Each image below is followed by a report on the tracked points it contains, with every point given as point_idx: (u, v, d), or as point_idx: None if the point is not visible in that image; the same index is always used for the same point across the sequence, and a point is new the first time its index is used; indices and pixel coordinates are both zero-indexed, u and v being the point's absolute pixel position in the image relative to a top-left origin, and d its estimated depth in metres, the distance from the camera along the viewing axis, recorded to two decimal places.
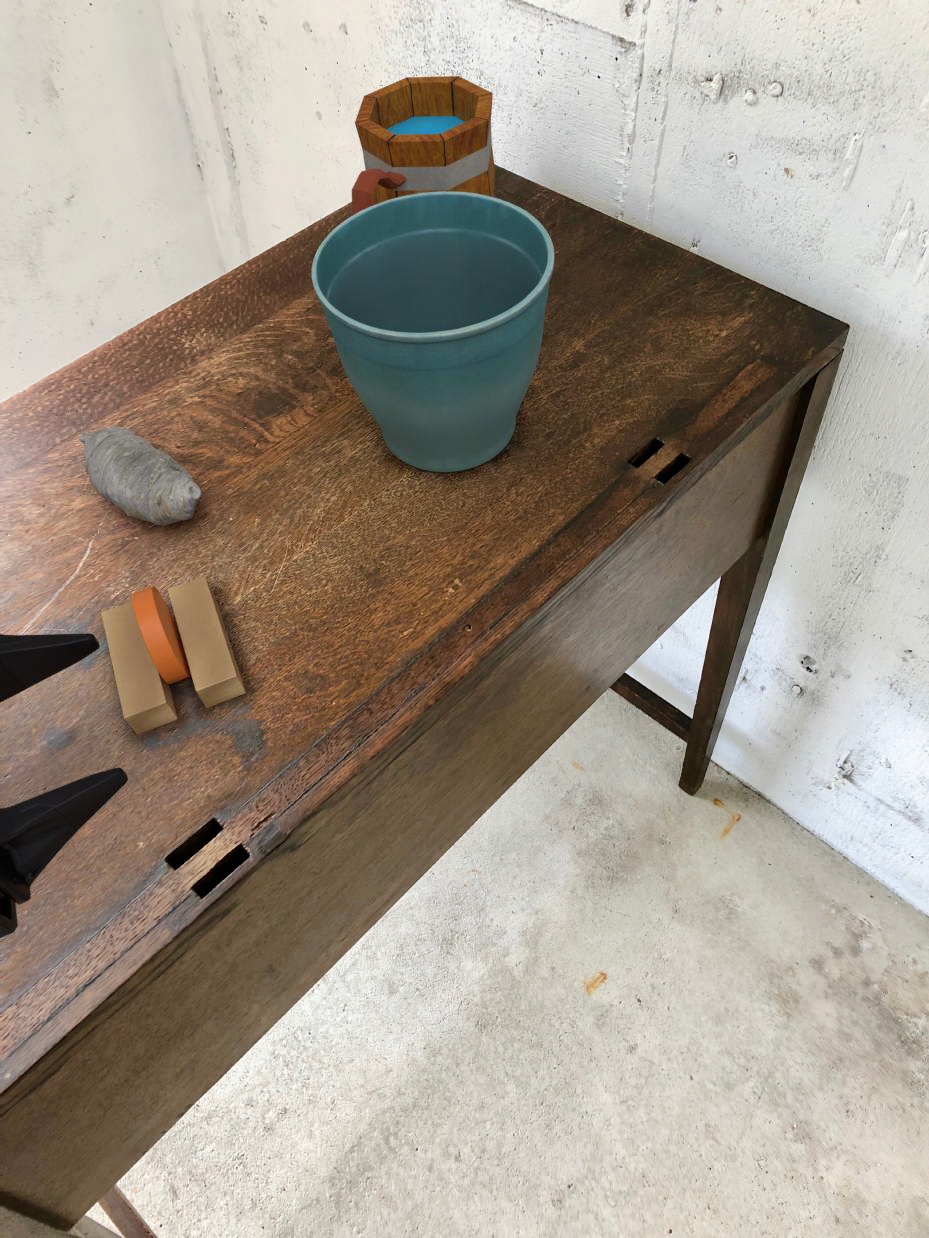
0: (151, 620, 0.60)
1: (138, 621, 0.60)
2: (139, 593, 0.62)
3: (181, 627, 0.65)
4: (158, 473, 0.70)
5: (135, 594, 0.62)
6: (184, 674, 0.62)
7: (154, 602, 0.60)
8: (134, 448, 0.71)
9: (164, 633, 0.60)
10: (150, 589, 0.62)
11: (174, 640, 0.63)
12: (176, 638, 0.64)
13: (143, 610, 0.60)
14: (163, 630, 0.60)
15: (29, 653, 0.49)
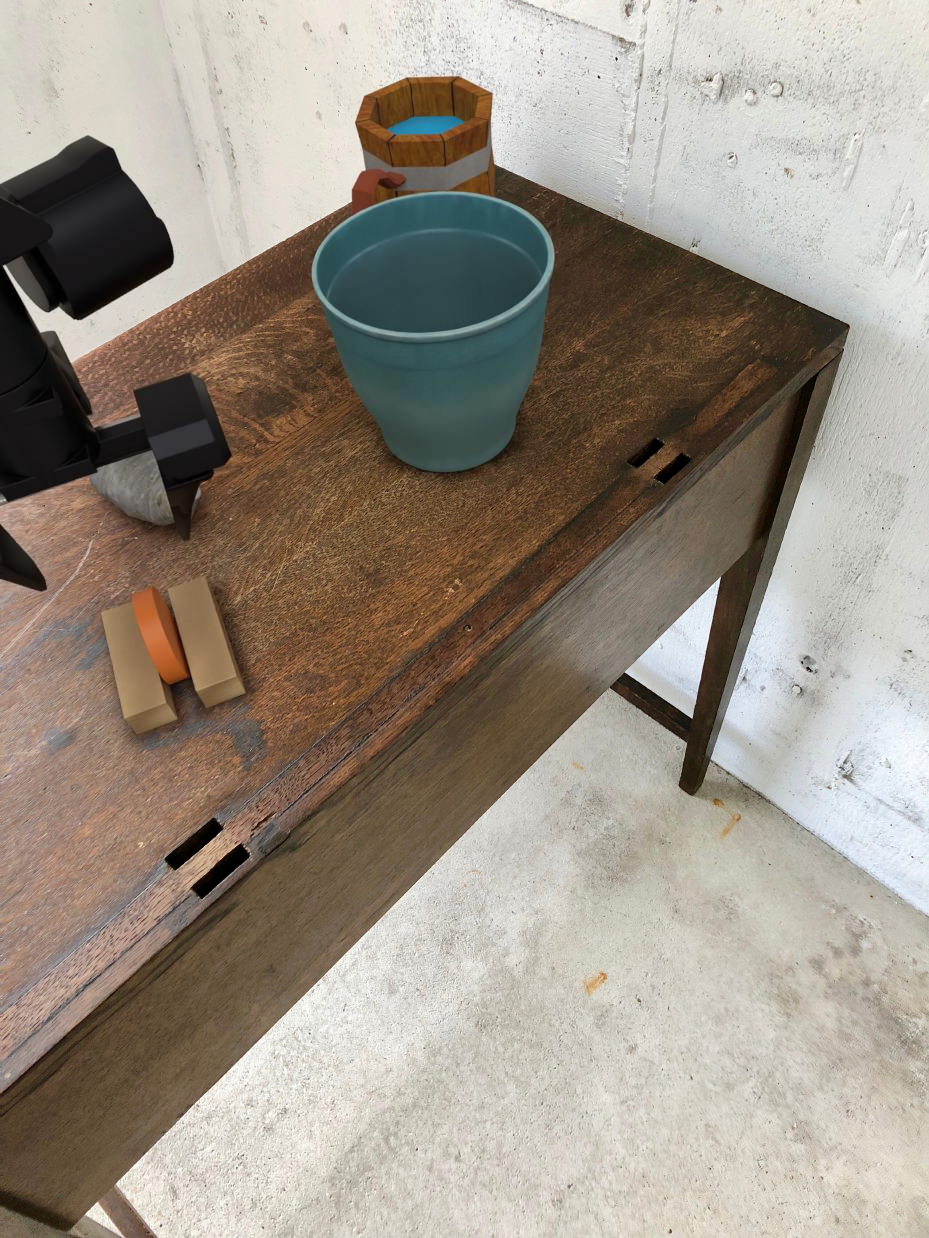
0: (151, 621, 0.60)
1: (138, 622, 0.60)
2: (139, 593, 0.62)
3: (181, 627, 0.65)
4: (158, 473, 0.70)
5: (135, 594, 0.62)
6: (184, 675, 0.62)
7: (154, 603, 0.60)
8: None
9: (164, 634, 0.60)
10: (150, 589, 0.62)
11: (174, 640, 0.63)
12: (176, 638, 0.64)
13: (143, 611, 0.60)
14: (163, 631, 0.60)
15: (14, 542, 0.53)
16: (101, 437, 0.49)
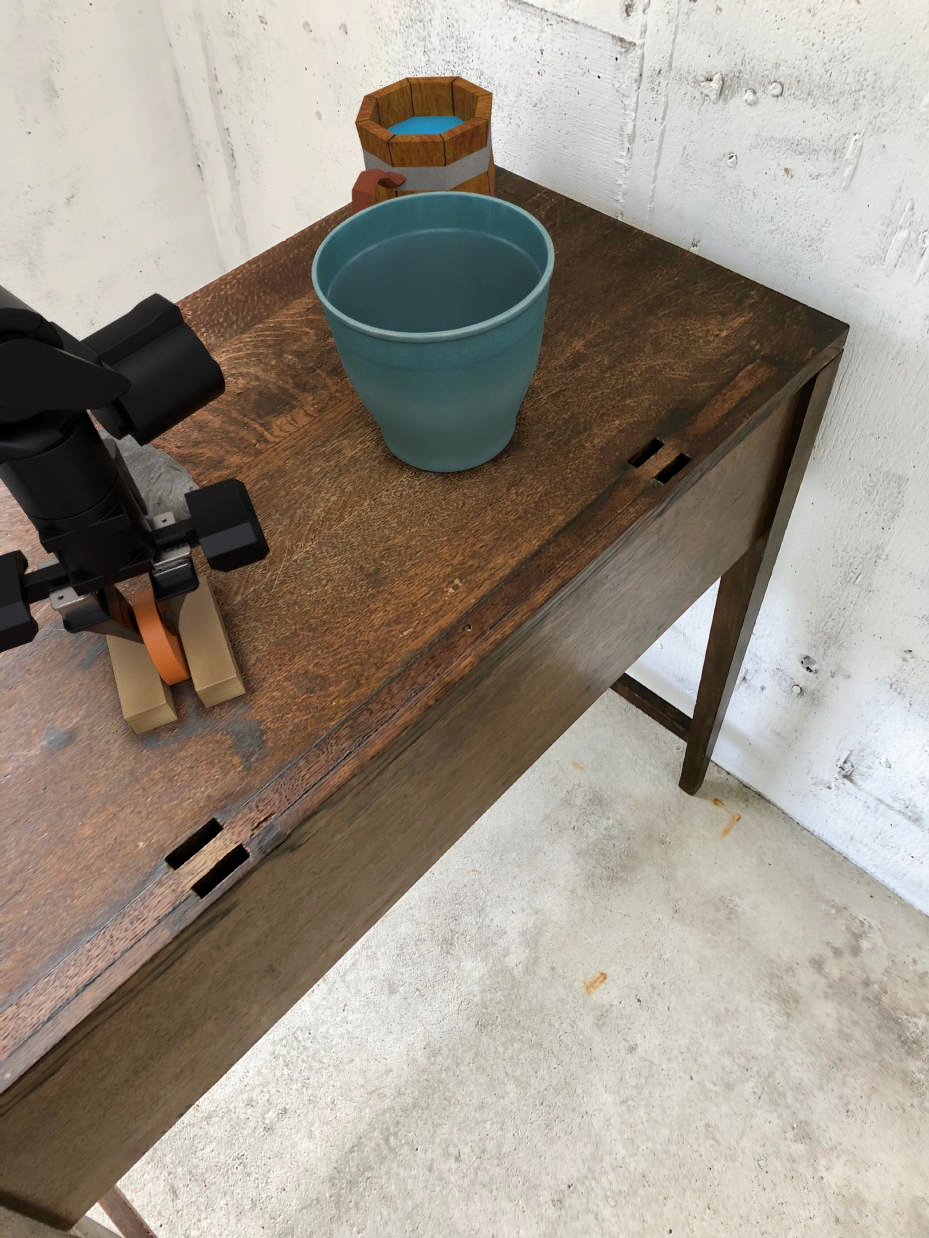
0: (152, 623, 0.60)
1: (139, 624, 0.60)
2: (139, 595, 0.61)
3: (181, 627, 0.65)
4: (158, 473, 0.70)
5: (135, 596, 0.61)
6: (185, 676, 0.62)
7: (155, 605, 0.60)
8: (134, 448, 0.71)
9: (165, 636, 0.60)
10: (150, 591, 0.62)
11: (174, 641, 0.63)
12: (176, 639, 0.64)
13: (144, 613, 0.60)
14: (164, 633, 0.60)
15: (128, 603, 0.60)
16: (157, 536, 0.56)
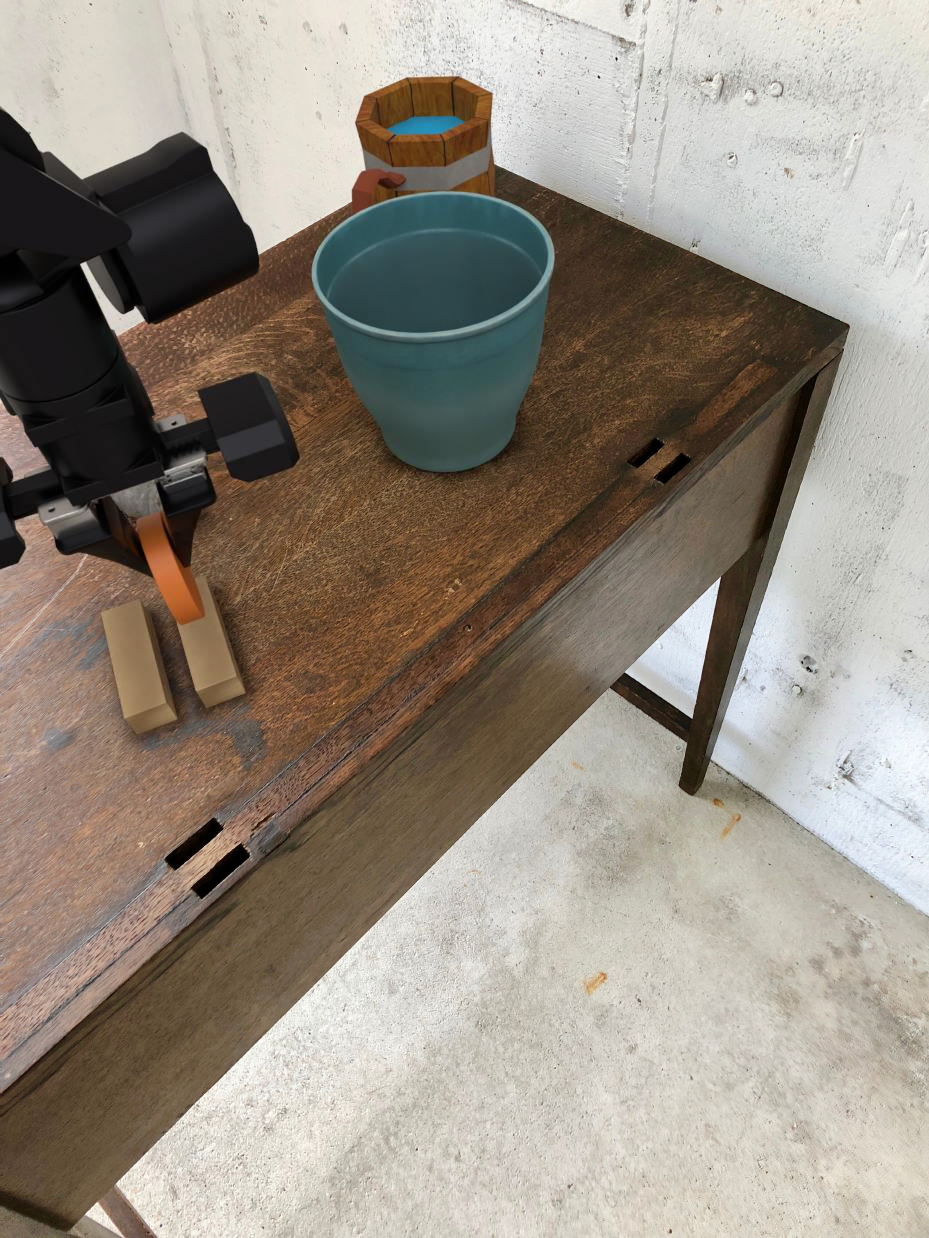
0: (160, 548, 0.51)
1: (145, 549, 0.51)
2: (145, 518, 0.52)
3: (181, 627, 0.65)
4: None
5: (140, 519, 0.52)
6: (199, 613, 0.53)
7: (163, 528, 0.51)
8: None
9: (176, 564, 0.51)
10: (157, 513, 0.53)
11: (186, 574, 0.54)
12: (188, 572, 0.55)
13: (150, 537, 0.51)
14: (174, 560, 0.51)
15: (131, 527, 0.51)
16: (166, 439, 0.47)
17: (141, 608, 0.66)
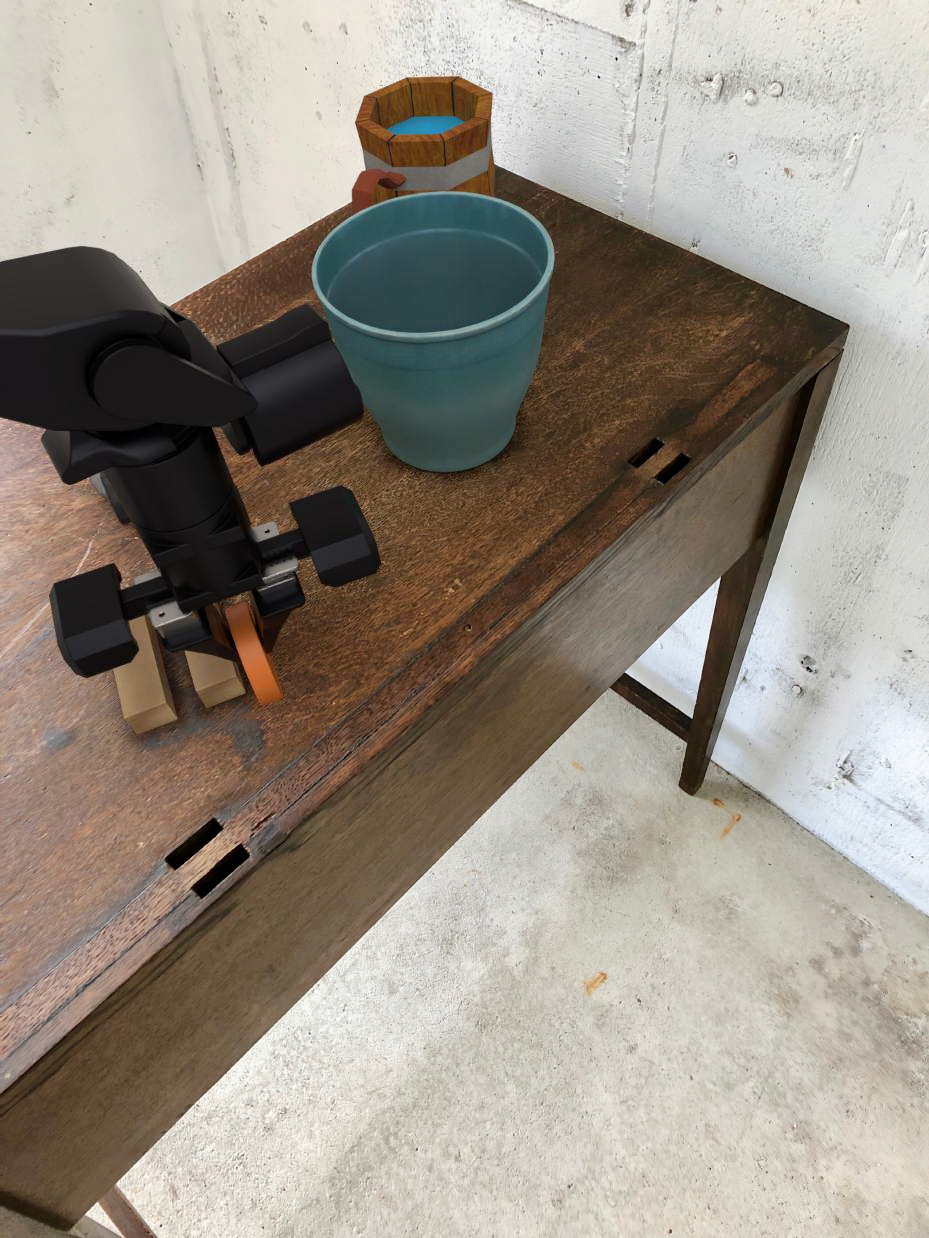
0: (249, 640, 0.56)
1: (236, 641, 0.56)
2: (233, 610, 0.57)
3: None
4: None
5: (229, 611, 0.57)
6: (280, 696, 0.58)
7: (251, 620, 0.56)
8: None
9: (263, 654, 0.56)
10: (245, 605, 0.58)
11: (269, 659, 0.59)
12: (268, 656, 0.60)
13: (240, 629, 0.56)
14: (262, 651, 0.56)
15: (222, 619, 0.56)
16: (263, 549, 0.52)
17: None
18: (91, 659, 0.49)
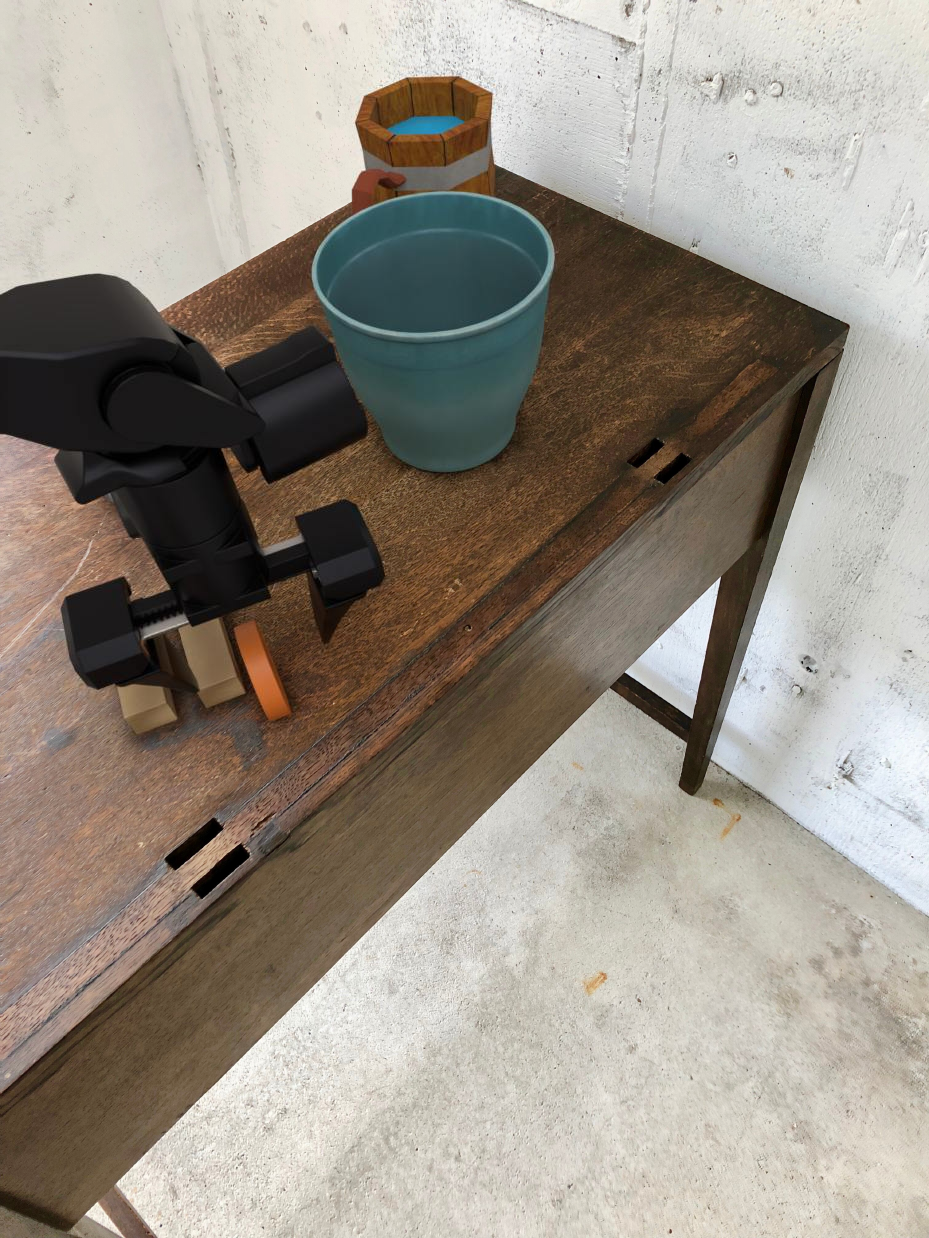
0: (258, 659, 0.57)
1: (245, 660, 0.57)
2: (242, 628, 0.59)
3: (181, 627, 0.65)
4: None
5: (238, 629, 0.59)
6: (288, 712, 0.60)
7: (260, 639, 0.58)
8: None
9: (272, 672, 0.57)
10: (253, 624, 0.59)
11: (276, 676, 0.60)
12: (276, 672, 0.62)
13: (249, 648, 0.58)
14: (271, 669, 0.57)
15: (175, 650, 0.57)
16: (269, 562, 0.53)
17: None
18: (102, 672, 0.50)
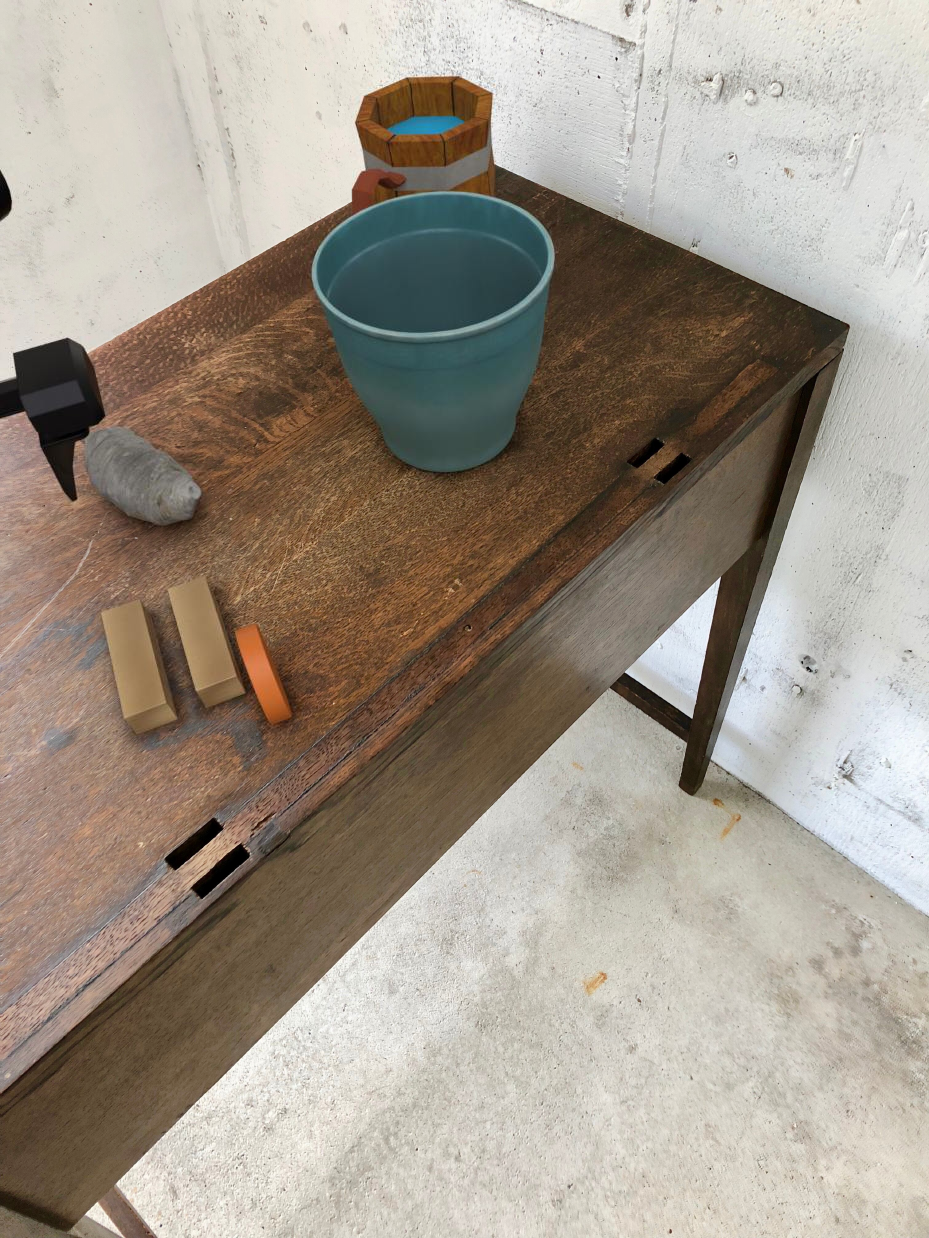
0: (261, 666, 0.57)
1: (247, 667, 0.57)
2: (243, 633, 0.59)
3: (181, 627, 0.65)
4: (158, 473, 0.70)
5: (239, 634, 0.59)
6: (290, 716, 0.60)
7: (262, 646, 0.58)
8: (134, 448, 0.71)
9: (274, 680, 0.57)
10: (255, 629, 0.59)
11: (278, 680, 0.60)
12: (276, 675, 0.62)
13: (252, 655, 0.57)
14: (273, 677, 0.57)
15: None
16: None
17: (141, 608, 0.66)
18: None
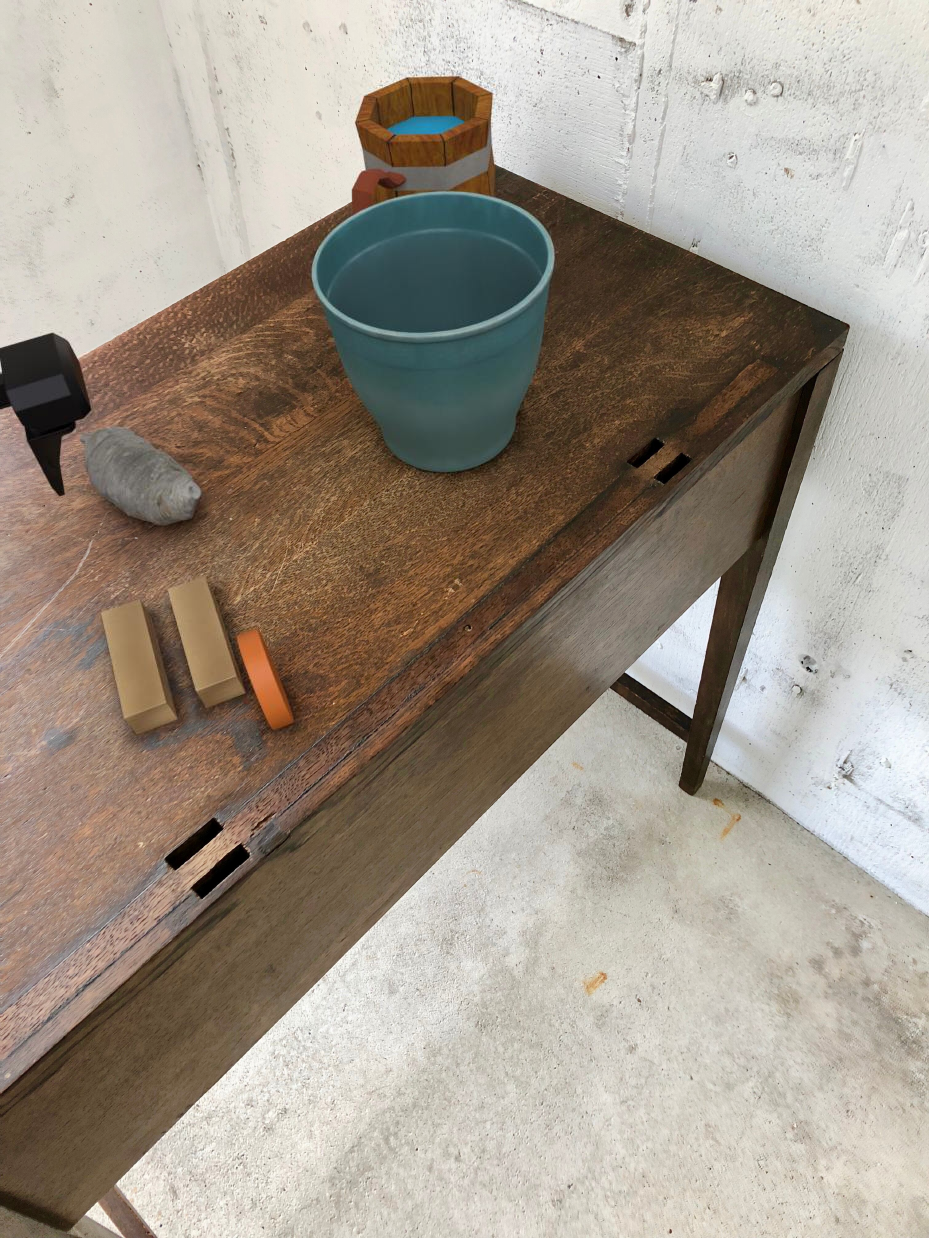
0: (265, 678, 0.57)
1: (251, 679, 0.57)
2: (246, 642, 0.58)
3: (181, 627, 0.65)
4: (158, 473, 0.70)
5: (242, 643, 0.58)
6: (292, 722, 0.60)
7: (266, 656, 0.57)
8: (134, 448, 0.71)
9: (279, 691, 0.57)
10: (258, 638, 0.58)
11: (280, 686, 0.60)
12: (278, 678, 0.61)
13: (256, 666, 0.57)
14: (278, 688, 0.57)
15: None
16: None
17: (141, 608, 0.66)
18: None
